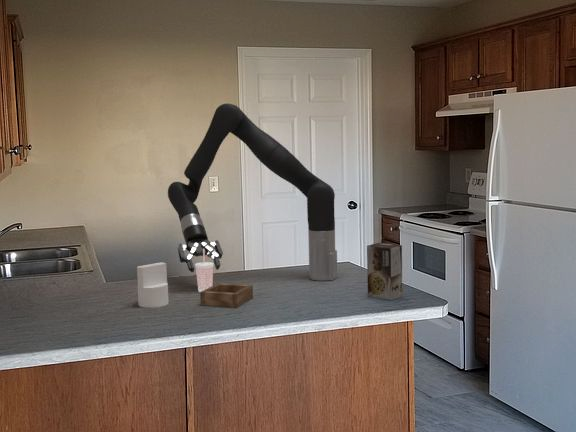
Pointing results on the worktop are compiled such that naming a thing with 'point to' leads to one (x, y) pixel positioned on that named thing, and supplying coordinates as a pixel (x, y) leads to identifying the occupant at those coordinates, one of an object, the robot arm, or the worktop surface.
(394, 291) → the coffee box
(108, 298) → the worktop surface
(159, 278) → the cylinder with rectangular tab
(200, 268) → the beverage cup
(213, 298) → the walnut collar
